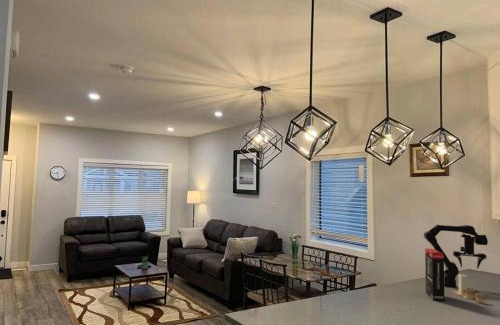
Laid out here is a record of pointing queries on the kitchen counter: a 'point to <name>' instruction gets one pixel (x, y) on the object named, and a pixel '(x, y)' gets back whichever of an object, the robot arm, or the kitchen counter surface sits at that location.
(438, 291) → the graphics card box
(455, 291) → the tile
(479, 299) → the rack
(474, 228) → the robot arm
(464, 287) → the pale green block
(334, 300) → the kitchen counter surface
